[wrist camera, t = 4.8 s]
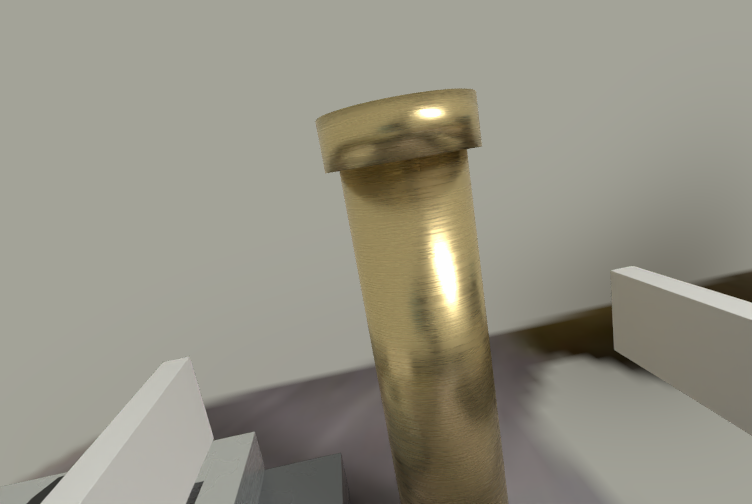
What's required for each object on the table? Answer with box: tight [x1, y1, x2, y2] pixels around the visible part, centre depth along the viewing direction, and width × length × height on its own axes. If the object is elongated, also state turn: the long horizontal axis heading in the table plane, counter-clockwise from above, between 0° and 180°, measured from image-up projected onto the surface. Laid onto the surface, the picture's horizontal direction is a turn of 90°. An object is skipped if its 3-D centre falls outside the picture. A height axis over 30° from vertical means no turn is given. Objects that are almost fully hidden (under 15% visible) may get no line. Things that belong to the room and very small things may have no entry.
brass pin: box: [316, 89, 508, 504], centre depth 13 cm, size 4×4×16 cm
